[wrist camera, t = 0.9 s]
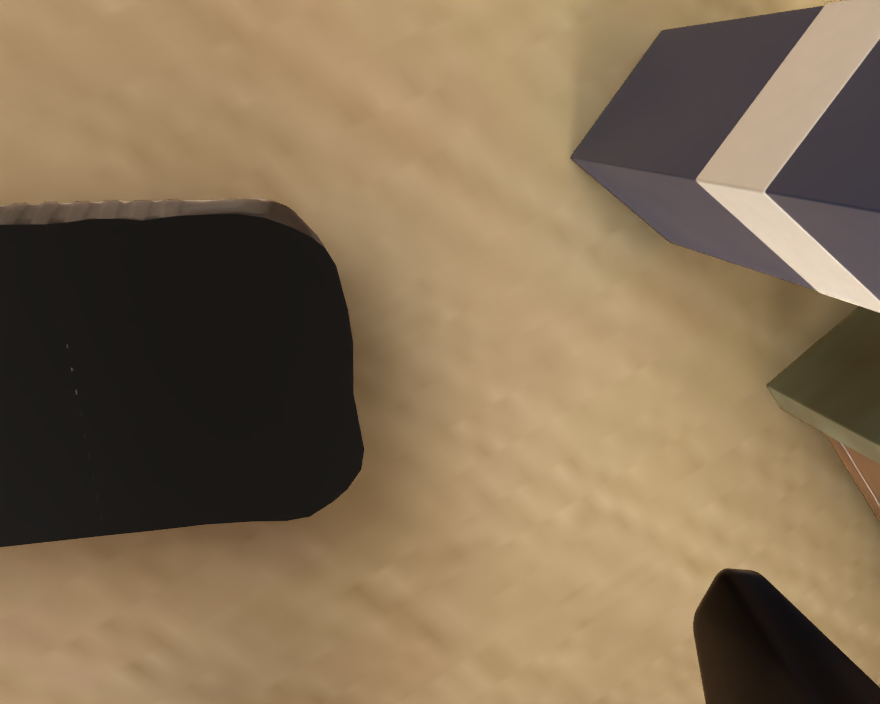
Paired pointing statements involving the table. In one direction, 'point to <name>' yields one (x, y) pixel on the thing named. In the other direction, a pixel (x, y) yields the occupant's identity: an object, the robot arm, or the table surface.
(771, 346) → the table surface
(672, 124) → the straw box
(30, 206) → the black sponge
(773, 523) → the table surface
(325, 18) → the table surface
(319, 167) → the table surface
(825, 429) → the drawer
